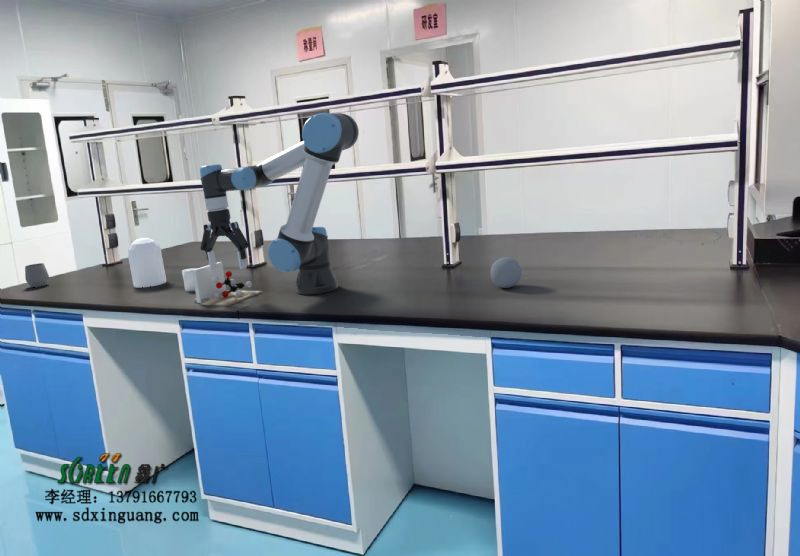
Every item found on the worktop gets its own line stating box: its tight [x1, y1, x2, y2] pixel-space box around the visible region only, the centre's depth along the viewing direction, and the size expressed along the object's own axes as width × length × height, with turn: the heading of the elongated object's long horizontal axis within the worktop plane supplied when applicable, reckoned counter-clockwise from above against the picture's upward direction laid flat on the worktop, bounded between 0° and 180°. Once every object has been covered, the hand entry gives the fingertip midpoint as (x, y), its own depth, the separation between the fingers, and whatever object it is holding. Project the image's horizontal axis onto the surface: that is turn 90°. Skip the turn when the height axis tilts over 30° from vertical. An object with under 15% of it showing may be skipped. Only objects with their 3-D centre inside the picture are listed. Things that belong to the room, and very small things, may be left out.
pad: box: [199, 290, 263, 307], centre depth 222 cm, size 13×18×1 cm
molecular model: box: [213, 270, 253, 298], centre depth 221 cm, size 16×8×10 cm, turn 148°
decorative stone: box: [489, 256, 522, 289], centre depth 200 cm, size 10×10×10 cm
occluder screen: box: [192, 261, 230, 304], centre depth 225 cm, size 5×14×12 cm, turn 154°
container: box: [127, 237, 167, 289], centre depth 262 cm, size 14×13×20 cm
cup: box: [24, 262, 50, 288], centre depth 281 cm, size 10×9×10 cm
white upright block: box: [181, 267, 199, 292], centre depth 243 cm, size 6×6×8 cm
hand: (228, 268), depth 219 cm, fingers open, 13 cm apart
